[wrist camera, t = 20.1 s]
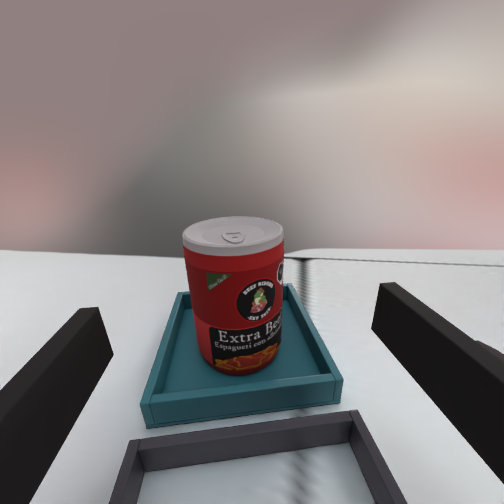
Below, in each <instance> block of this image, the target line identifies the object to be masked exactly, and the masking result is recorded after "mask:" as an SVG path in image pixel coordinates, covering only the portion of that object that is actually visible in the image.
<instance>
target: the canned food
mask: <svg viewBox="0 0 504 504" xmlns="http://www.w3.org/2000/svg"><path fill="white" fill-rule="evenodd" d="M182 234H183V248H184V257H185V264H186V270H187V277H188V283H189V290H190V296H191V303H192V309H193V316H194V322H195V329H196V336H197V342H198V348H199V350H200V352H201V354H202V356H203V358H204V359H205V361H206V362H207V363H208V364H209V365H210V366H211V367H212V368H214V369H215V370H217V371H219V372H222V373H225V374H229V375H246V374H250V373H254V372H256V371H259V370H261V369H263V368H264V367H265V366H267V365H268V364H269V363H270V362H271V361H272V360H273V359H274V357H275V356H276V354H277V352H278V349H279V347H280V344H281V338H282V300H283V263H284V236H283V227H282V226H281V225H280V224H278V223H276V222H274V221H271V220H268V219H263V218H258V217H246V216H238V217H237V216H235V217H221V218H214V219H210V220H205V221H201V222H198V223H195V224H193V225H191V226H189V227H188V228H186V229H185V230H184V231H183V233H182Z"/></svg>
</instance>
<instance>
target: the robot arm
mask: <svg viewBox="0 0 504 504" xmlns="http://www.w3.org/2000/svg"><path fill="white" fill-rule="evenodd" d="M371 329H372V330H373V332H374V333H375V334H376V335H377V336H378V337H379V339H380V340H381V341H382V342H383V343H384V344H385V346H386V347H387V348H388V349H389V350H390V352H391V353H392V354H393V355H394V356H395V357H396V359H397V360H398V361H399V362H400V363H401V364H402V366H403V367H404V368H405V369H406V370H407V371H408V373H409V374H410V375H411V376H412V377H413V378H414V380H415V381H416V382H417V383H418V384H419V385H420V387H421V388H422V389H423V390H424V391H425V392H426V394H427V395H428V396H429V397H430V398H431V400H432V401H433V402H434V403H435V404H436V405H437V407H438V408H439V409H440V410H441V411H442V412H443V414H444V415H445V416H446V417H447V418H448V419H449V421H450V422H451V423H452V424H453V425H454V426H455V428H456V429H457V430H458V431H459V432H460V433H461V435H462V436H463V437H464V438H465V439H466V440H467V442H468V443H469V444H470V445H471V446H472V447H473V449H474V450H475V451H476V452H477V453H478V455H479V456H480V457H481V458H482V459H483V460H484V462H485V463H486V464H487V465H488V466H489V467H490V469H491V470H492V471H493V472H494V473H495V474H496V476H497V477H498V478H499V479H500V480H501V481H502V483H503V484H504V354H502V353H501V352H499V351H498V350H496V349H494V348H492V347H490V346H488V345H486V344H484V343H482V342H480V341H474V340H473V339H472V338H470V337H469V336H468V335H466V334H465V333H464V332H462V331H461V330H459V329H458V328H457V327H455V326H454V325H453V324H451V323H450V322H449V321H447V320H446V319H444V318H443V317H442V316H440V315H439V314H438V313H436V312H435V311H434V310H432V309H431V308H429V307H428V306H427V305H425V304H424V303H423V302H421V301H420V300H418V299H417V298H416V297H414V296H413V295H412V294H410V293H409V292H408V291H406V290H405V289H403V288H402V287H401V286H399V285H398V284H397V283H395V282H391V283H380V286H379V291H378V296H377V301H376V306H375V312H374V317H373V322H372V327H371ZM113 355H114V354H113V351H112V348H111V345H110V342H109V339H108V336H107V333H106V329H105V326H104V323H103V320H102V317H101V314H100V311H99V308H98V307H90V308H80V309H79V310H78V311H77V312H76V313H75V314H74V315H73V316H72V317H71V318H70V319H69V320H68V321H67V322H66V323H65V324H64V325H63V326H62V327H61V328H60V329H59V330H58V331H57V332H56V333H55V335H54V336H53V337H52V338H51V339H50V340H49V341H48V342H47V343H46V344H45V345H44V346H43V347H42V348H41V349H40V350H39V351H38V352H37V353H36V354H35V355H34V356H33V357H32V358H31V359H30V360H29V361H28V362H27V363H26V364H25V365H24V367H23V368H22V369H21V370H20V371H19V372H18V373H17V374H16V375H15V376H14V377H13V378H12V379H11V380H10V381H9V382H8V383H7V384H6V385H5V386H4V387H3V388H2V389H1V390H0V504H29V503H30V501H31V499H32V498H33V496H34V494H35V492H36V491H37V489H38V487H39V485H40V484H41V482H42V480H43V478H44V477H45V475H46V473H47V471H48V470H49V468H50V466H51V464H52V463H53V461H54V459H55V457H56V455H57V454H58V452H59V450H60V448H61V447H62V445H63V443H64V441H65V440H66V438H67V436H68V434H69V433H70V431H71V429H72V427H73V426H74V424H75V422H76V420H77V418H78V417H79V415H80V413H81V411H82V410H83V408H84V406H85V404H86V403H87V401H88V399H89V397H90V396H91V394H92V392H93V390H94V389H95V387H96V385H97V383H98V381H99V380H100V378H101V376H102V374H103V373H104V371H105V369H106V367H107V366H108V364H109V362H110V360H111V359H112V357H113Z"/></svg>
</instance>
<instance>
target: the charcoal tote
mask: <svg viewBox="0 0 504 504" xmlns="http://www.w3.org/2000/svg"><path fill="white" fill-rule="evenodd" d="M348 441H349V442H350V445H351V447H352V449H353V451H354V454H355V456H356V458H357V461H358V463H359V465H360V467H361V470H362V472H363V474H364V476H365V479H366V481H367V483H368V485H369V488H370V490H371V492H372V494H373V497H374V499H375V501H376V503H377V504H407V502H406V500H405V498H404V496H403V494H402V492H401V490H400V489H399V487H398V485H397V483H396V481H395V479H394V477H393V475H392V474H391V472H390V470H389V468H388V466H387V464H386V462H385V460H384V459H383V457H382V455H381V453H380V451H379V449H378V447H377V445H376V443H375V442H374V440H373V438H372V436H371V434H370V432H369V430H368V428H367V427H366V425H365V423H364V421H363V419H362V417H361V415H360V413H359V412H358V410H350V411H342V412H335V413H328V414H320V415H313V416H306V417H298V418H291V419H283V420H276V421H269V422H261V423H254V424H247V425H239V426H232V427H225V428H217V429H210V430H203V431H195V432H188V433H181V434H173V435H166V436H159V437H151V438H144V439H141V440H140V439H136V440H130V441H129V444H128V447H127V450H126V453H125V456H124V459H123V462H122V465H121V468H120V471H119V474H118V477H117V480H116V483H115V486H114V489H113V492H112V495H111V498H110V501H109V504H136V503H137V499H138V495H139V491H140V487H141V483H142V479H143V475H144V471H145V472H148V471H155V470H161V469H168V468H175V467H182V466H188V465H195V464H202V463H208V462H215V461H222V460H229V459H235V458H242V457H249V456H255V455H262V454H269V453H276V452H282V451H289V450H296V449H303V448H309V447H316V446H323V445H329V444H336V443H343V442H348Z"/></svg>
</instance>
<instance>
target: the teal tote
mask: <svg viewBox="0 0 504 504" xmlns="http://www.w3.org/2000/svg"><path fill="white" fill-rule="evenodd" d="M342 386H343V377H342V375H341V374H340V372H339V370H338V368H337V366H336V364H335V363H334V361H333V359H332V357H331V355H330V353H329V351H328V350H327V348H326V346H325V344H324V342H323V340H322V339H321V337H320V335H319V333H318V331H317V329H316V328H315V326H314V324H313V322H312V320H311V318H310V316H309V315H308V313H307V311H306V309H305V307H304V305H303V304H302V302H301V300H300V298H299V296H298V294H297V292H296V291H295V289H294V287H293V285H292V283H287V284H283V300H282V338H281V344H280V347H279V349H278V352H277V354H276V356H275V357H274V359H273V360H272V361H271V362H270V363H269V364H268V365H267V366H265V367H264V368H263V369H261V370H259V371H256V372H254V373H250V374H246V375H229V374H225V373H222V372H219V371H217V370H215V369H214V368H212V367H211V366H210V365H209V364H208V363H207V362H206V361H205V359H204V358H203V356H202V354H201V352H200V350H199V348H198V342H197V336H196V329H195V322H194V316H193V309H192V303H191V296H190V291H189V292H178V294H177V297H176V300H175V302H174V305H173V308H172V311H171V314H170V317H169V320H168V323H167V326H166V329H165V332H164V335H163V338H162V341H161V343H160V346H159V349H158V352H157V355H156V358H155V361H154V364H153V367H152V370H151V373H150V376H149V379H148V382H147V385H146V387H145V390H144V393H143V396H142V399H141V402H140V407H141V410H142V414H143V417H144V420H145V424H146V428H154V427H161V426H169V425H177V424H184V423H192V422H199V421H207V420H214V419H222V418H229V417H237V416H245V415H252V414H260V413H267V412H275V411H282V410H290V409H297V408H305V407H312V406H320V405H328V404H335V403H340V399H341V393H342Z"/></svg>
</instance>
